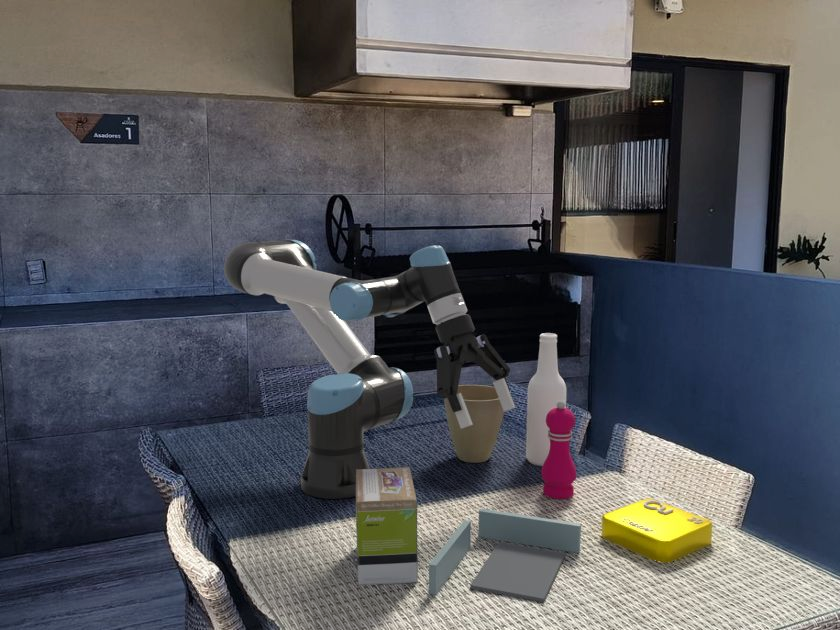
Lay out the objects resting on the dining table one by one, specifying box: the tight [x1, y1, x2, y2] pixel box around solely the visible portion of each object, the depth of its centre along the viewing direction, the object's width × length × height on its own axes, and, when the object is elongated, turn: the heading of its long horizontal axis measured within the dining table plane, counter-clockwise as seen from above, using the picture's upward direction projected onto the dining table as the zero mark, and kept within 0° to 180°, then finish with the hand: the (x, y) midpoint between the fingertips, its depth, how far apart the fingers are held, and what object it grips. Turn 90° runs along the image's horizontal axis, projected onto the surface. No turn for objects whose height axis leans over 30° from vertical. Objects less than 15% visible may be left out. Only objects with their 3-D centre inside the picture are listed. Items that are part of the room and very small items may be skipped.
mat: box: [469, 541, 566, 603], centre depth 137 cm, size 12×17×1 cm
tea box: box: [355, 466, 419, 586], centre depth 138 cm, size 15×10×15 cm
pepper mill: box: [540, 401, 577, 500], centre depth 169 cm, size 7×7×20 cm
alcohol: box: [525, 332, 567, 467], centre depth 188 cm, size 9×9×30 cm
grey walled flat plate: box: [428, 508, 582, 596], centre depth 136 cm, size 20×24×5 cm
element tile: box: [601, 498, 713, 564], centre depth 149 cm, size 15×15×5 cm
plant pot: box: [443, 384, 505, 464], centre depth 191 cm, size 15×15×16 cm
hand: (489, 418), depth 163 cm, fingers open, 13 cm apart
